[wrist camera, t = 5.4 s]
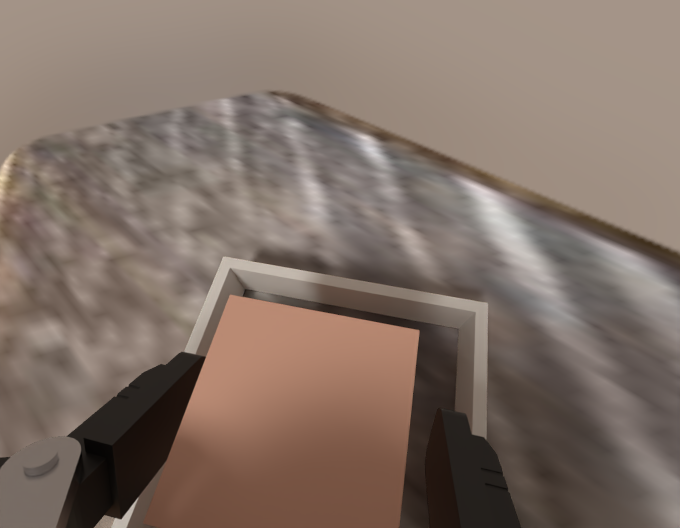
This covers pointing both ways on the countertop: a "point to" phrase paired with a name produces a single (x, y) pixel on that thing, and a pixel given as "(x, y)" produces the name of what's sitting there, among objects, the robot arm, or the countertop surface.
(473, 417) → the square frame
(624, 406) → the countertop surface
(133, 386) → the robot arm
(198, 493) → the terracotta block
